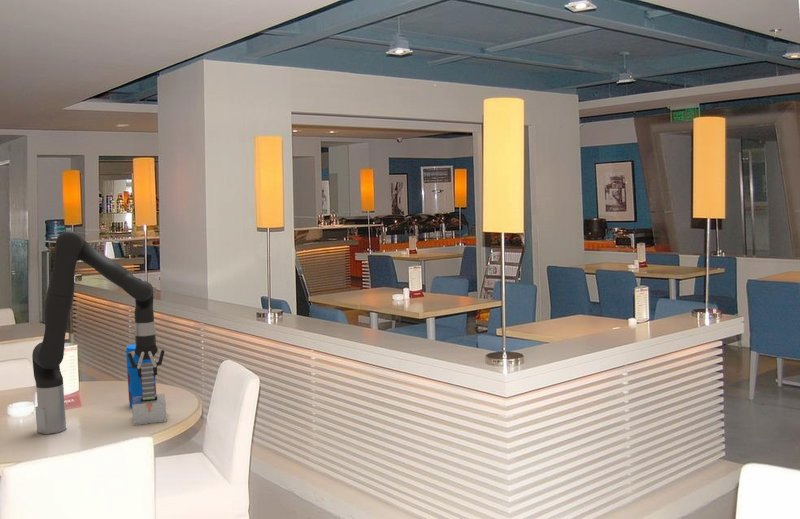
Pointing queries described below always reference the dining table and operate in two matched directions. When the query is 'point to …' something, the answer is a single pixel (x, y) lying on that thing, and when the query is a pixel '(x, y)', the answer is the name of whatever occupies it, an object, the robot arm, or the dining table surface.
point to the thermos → (135, 376)
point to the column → (147, 381)
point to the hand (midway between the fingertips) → (147, 376)
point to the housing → (149, 410)
